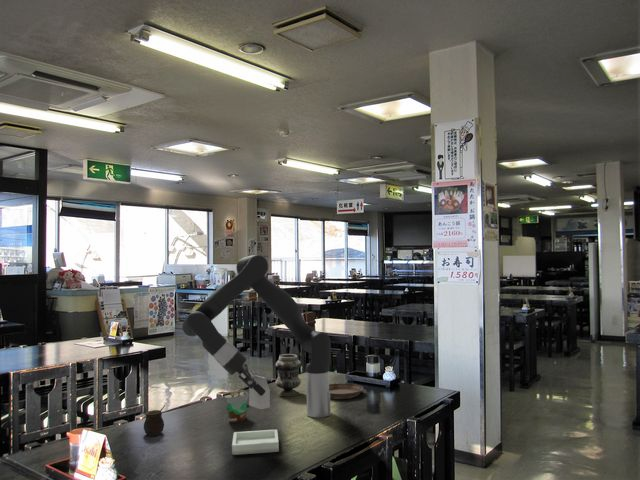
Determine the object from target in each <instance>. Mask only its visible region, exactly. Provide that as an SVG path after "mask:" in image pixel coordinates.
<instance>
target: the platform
mask: <svg viewBox="0 0 640 480" xmlns="http://www.w3.org/2000/svg"><path fill="white" fill-rule="evenodd" d="M238 390H239V389H237V390H234V391H233V390H232V391H230V394H229V395H224V398H225V399H228V397H229V398H230V397H232V396H233V395H235V394H237V393H238ZM241 390H242V391H245V389H241Z"/></svg>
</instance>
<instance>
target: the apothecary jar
mask: <svg viewBox="0 0 640 480" xmlns="http://www.w3.org/2000/svg"><path fill="white" fill-rule="evenodd" d="M301 365H302V363H301V361H300V360H299V359H298V355H296V354H294V353H284V354H279V357H278V360H277V361H276V362H275V367H276V368H277V378H276V379H275V385H276V386H277V387H278V388H280V389H283V390H281V391H279V392H278V393H277V396H280V397H283V398H284V397H286V398H287V397H296V396H299V394H300V393H299V391H297V390H295V389H296V388H299V386H300V385H301V383H302V380H301V378H300V377H299V368H300V366H301Z"/></svg>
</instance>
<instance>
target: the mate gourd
mask: <svg viewBox="0 0 640 480" xmlns="http://www.w3.org/2000/svg"><path fill="white" fill-rule="evenodd" d="M165 407H166V405H163V406H162V408H161V409H151V410H149V411H146V412H145V421H144V422H143V430H144V433H145V434H146V435H147V436H150V437H153V436H158V435H161V433H162V432H163V431H164V428H165V422H164V419H163V416H162V413H163V409H164V408H165Z"/></svg>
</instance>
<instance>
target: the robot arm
mask: <svg viewBox="0 0 640 480" xmlns="http://www.w3.org/2000/svg"><path fill="white" fill-rule="evenodd" d="M235 267H236V272H237V274H236V275H235V276H234V277H232V278H231V279H230V280H228V281H227V282H225V284H224V283H223V285H221V286H219V287H218V288H217V289H216V290H215V291H213V292H212V293H211V294H210V295H209V296H208V297H207V298H206V299H204V301H203V302H202V303H201V305H199V307H198V308H196V309H195V310H194V311H191V312H190V313H189V314H188V315H187V316H186V318H185V319H184V320H183V322H182V324H181V325H182V331H183V333H184V334H185V335H186V336H188V337H195V336H197V337H198V338H199V339H200V340H201V341H202V342H201V343H202V344H201V345H202V347H203V348H204V349H205V350H206V352H208V353H209V354H210V355H211V356H212V357H213V359H214V360H215V361H216V362H217V364H219V365H220V366H221V367H222V368H223V369H224V370H225V371H226V372H227V373H228V374H229V375H230V376H232V375H234V374H236V373H238V378H239V379H240V380H242V381H243V383H244V384H245V385H246V386H247V387H248V389H249V388H251V389H254V390H255V391H256V392H257V393H258V394H259V395H260V396H262V395H263V394H264V393H265V390H264V389H263V388H262V387H261V386H260V385H259V384H258V382H257V381H256V380H255V377H254V375H256V376H258V375H257V373H256V372H255V371H253V369H252V368H250V367H249V366H248V364H246V362H247V358H246V356H245V355H244V354H243V353H242V352H241V351H240V350H239V349H237V347H235V346H234V345H233V344H232V343H231V342H230V341H229V340H227V339H226V338H225V337H224V335H222V334H221V333H220V332H219V331H218V329H217V328H216V326H215V325H214V323H213V322H212V321H213V320H214V319H215V318H217V317H218V316H219V315H220V314H221V313H222V312H223V311H224V310H225V309H226V308H227V307H228V306H230V304H232V303H233V302H234V300H235V299H236V298H238V296H240V295H241V294H242V293H244V291H246V290H247V289H248V288H249V287H250V288H251V289H252V290H253V291H254V293H256V294H257V295H258V296H259V298H260V299H262V301H263V302H264V303H265V305H266V306H268V307H269V309H270V310H271V311H272V312H273V314H274V315H275V316H276V317H277V318H278V319H279V320H280V321H281V322H282V323H283V325H285V327H286V328H287V329H288V330H289V331H290V333H292V335H293V336H294V337H295V339H296V341H298V343H299V345H300V346H301V348H302V349H303V350H304V351H305V352H306V353H308V354H311V360H310V362H309V363H306V365H305V379H306V380H305V382H306V383H305V384H306V386H305V387H306V388H305V389H306V416H308V417H309V418H310V417H311V418H318V419H319V418H325V417H330V416H331V415H332V413H331V411H332V409H331V408H332V407H331V398H330V391H329V384H330V365H331V359H332V358H331V356H332V355H331V354H332V353H331V351H332V347H331V346H332V345H331V344H332V343H331V339H330V337H329V335H328V334H327V333H326V332H323V331H317V330H314V329H313V327H311V326H310V325H309V324H308V323H307V322H306V321H305V320H304V317H303V315H302V311H301V308H300V306H299V304H298V303H297V302H296V301H295V299H294V298H293V297H292V296H291V294H289V293H288V292H287V291H286V290H284V289H283V288H281V287H280V286H278V285H277V284H275V283H273V282H271V281H270V280H269V279H268V278H267V277H266V275H267V273H268V271H269V264H268V260H267V258H265V257H264V255H260V254H252V255H249V256H245V257H242V258H240V259H239V260H238V261H237V263H236V266H235ZM251 382H252V383H251Z"/></svg>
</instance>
